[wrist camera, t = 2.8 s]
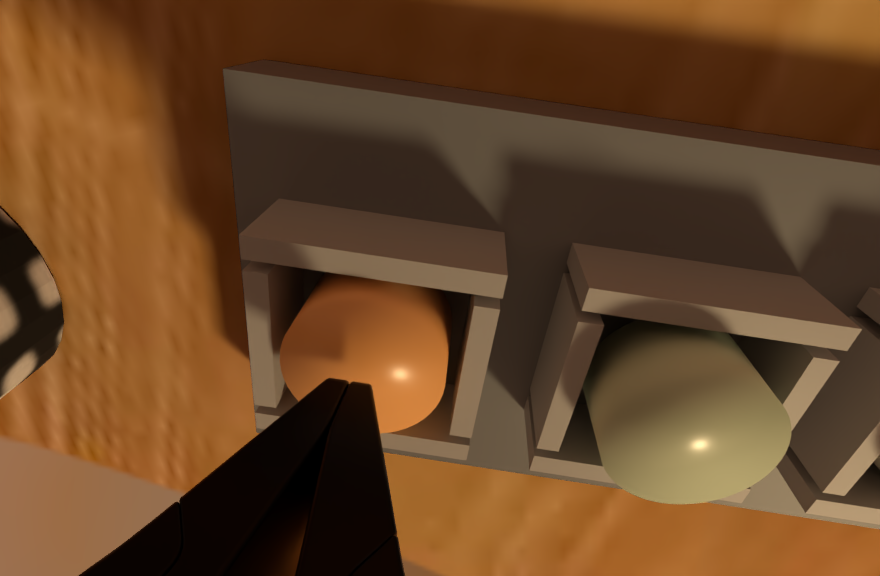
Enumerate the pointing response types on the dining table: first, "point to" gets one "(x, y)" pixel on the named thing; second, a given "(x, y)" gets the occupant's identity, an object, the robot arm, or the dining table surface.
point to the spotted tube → (25, 308)
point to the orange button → (372, 344)
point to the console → (567, 261)
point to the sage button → (682, 414)
